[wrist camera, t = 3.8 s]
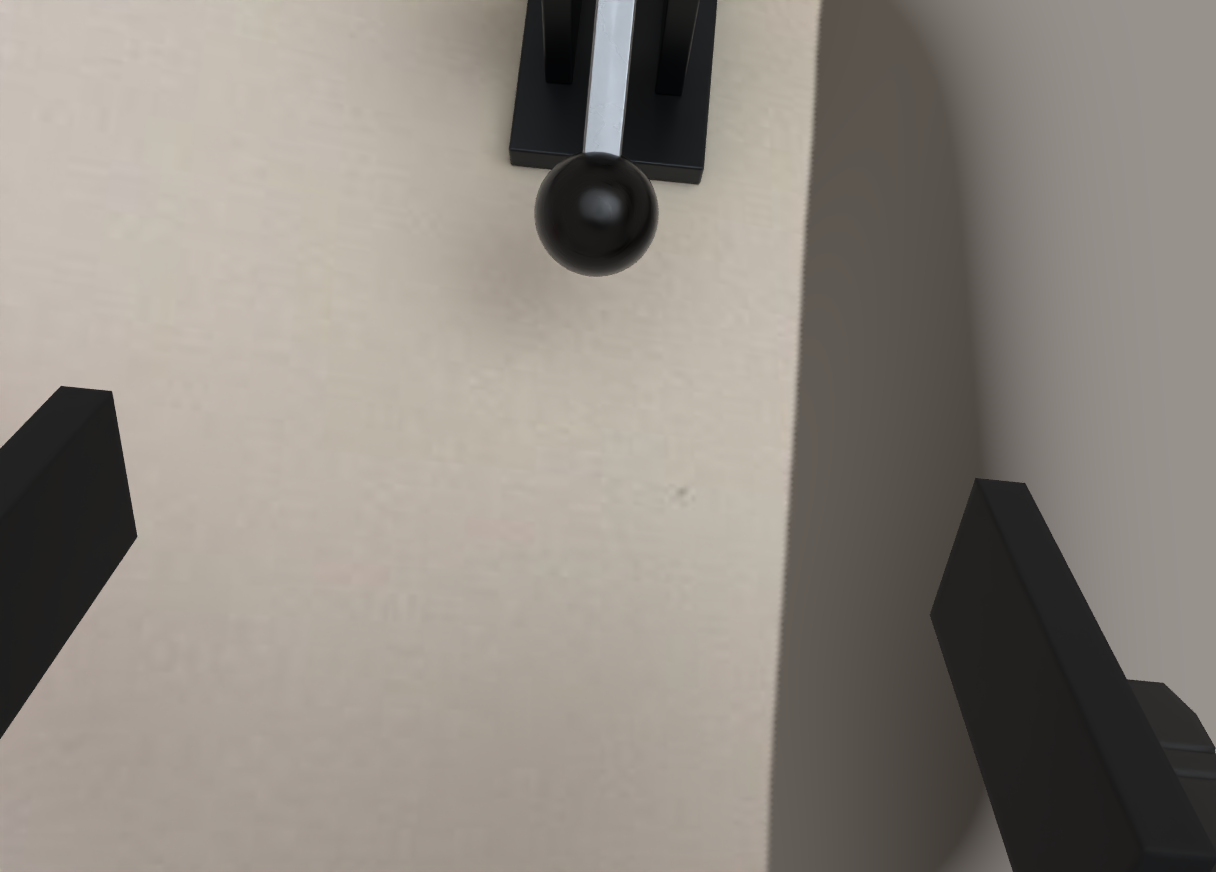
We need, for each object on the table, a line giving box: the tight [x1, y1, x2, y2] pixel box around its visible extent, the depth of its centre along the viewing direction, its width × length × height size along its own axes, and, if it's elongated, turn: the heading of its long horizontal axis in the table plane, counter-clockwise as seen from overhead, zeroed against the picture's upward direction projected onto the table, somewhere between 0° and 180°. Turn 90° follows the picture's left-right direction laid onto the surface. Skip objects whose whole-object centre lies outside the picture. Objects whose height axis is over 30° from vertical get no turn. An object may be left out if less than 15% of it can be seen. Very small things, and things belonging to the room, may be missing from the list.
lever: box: [535, 0, 659, 277], centre depth 30 cm, size 14×4×4 cm, turn 175°
